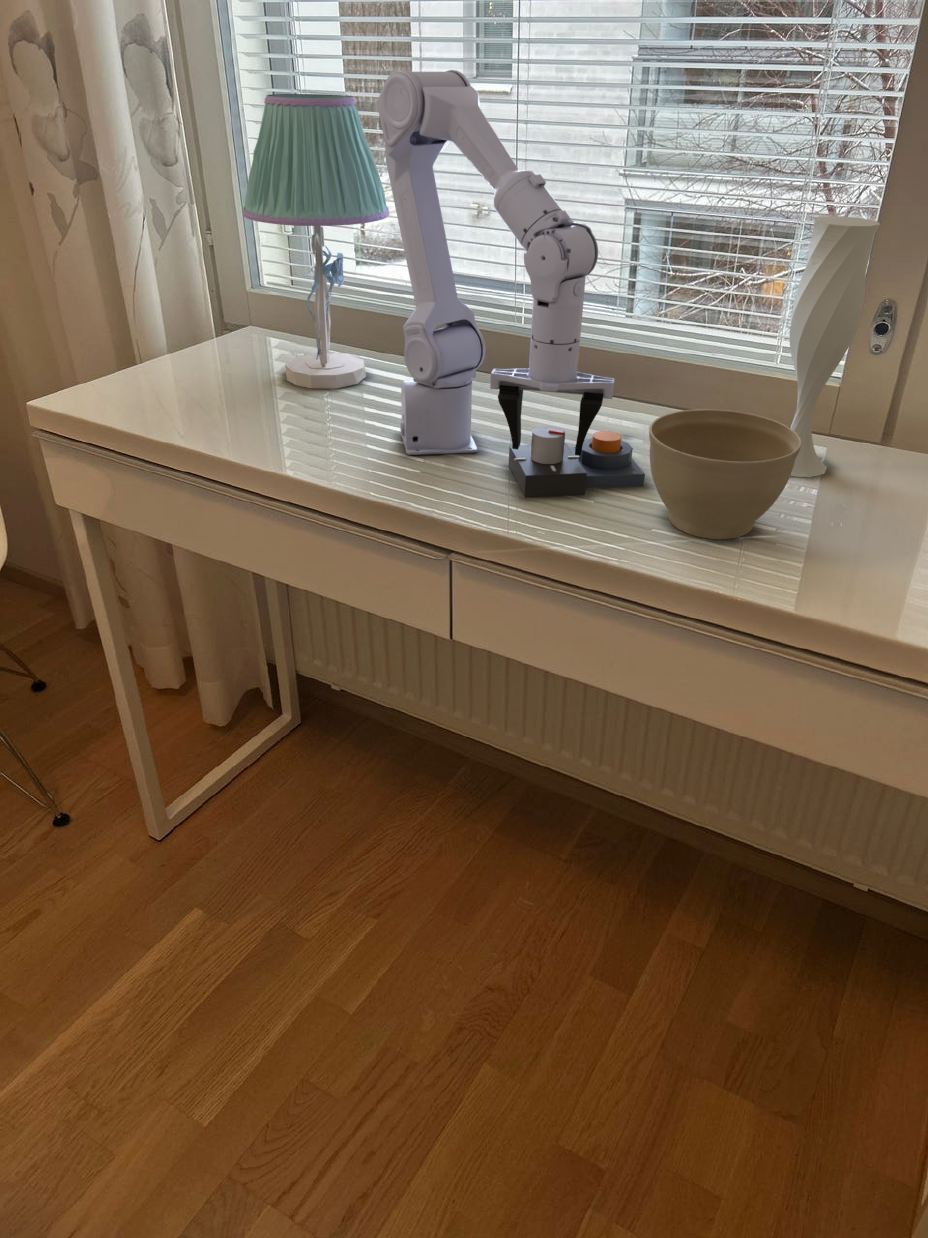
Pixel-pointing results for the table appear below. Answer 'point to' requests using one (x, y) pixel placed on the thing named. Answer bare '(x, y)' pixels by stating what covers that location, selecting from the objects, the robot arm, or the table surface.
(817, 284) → the vase
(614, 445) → the button
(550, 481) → the dial panel
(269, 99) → the table lamp
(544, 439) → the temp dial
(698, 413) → the planter bowl
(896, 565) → the table surface
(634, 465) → the button base
